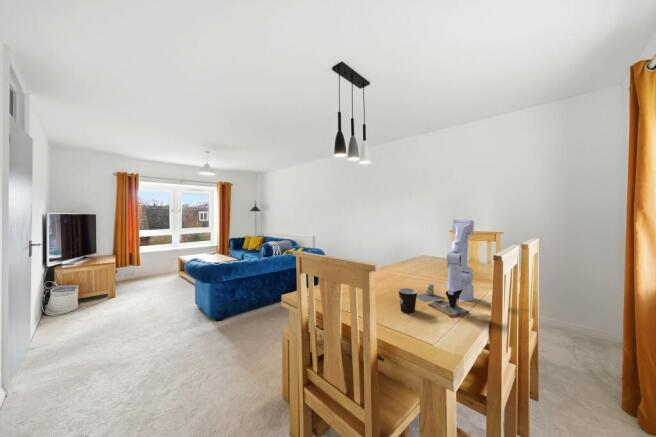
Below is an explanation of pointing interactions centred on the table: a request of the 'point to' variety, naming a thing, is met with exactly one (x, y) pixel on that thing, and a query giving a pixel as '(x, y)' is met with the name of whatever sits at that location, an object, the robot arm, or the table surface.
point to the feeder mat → (428, 297)
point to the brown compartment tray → (447, 308)
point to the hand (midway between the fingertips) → (453, 305)
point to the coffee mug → (407, 300)
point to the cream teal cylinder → (455, 306)
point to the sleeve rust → (429, 289)
